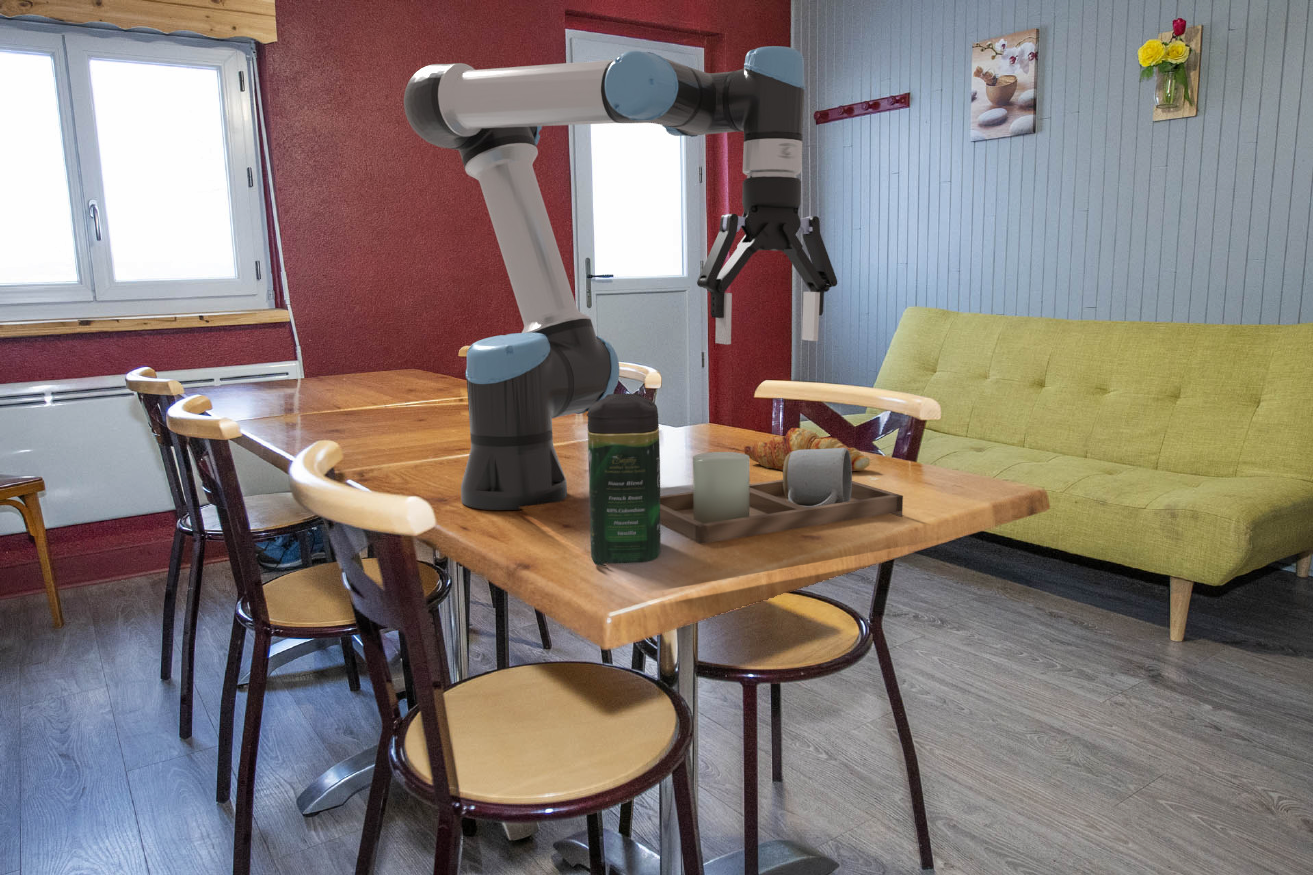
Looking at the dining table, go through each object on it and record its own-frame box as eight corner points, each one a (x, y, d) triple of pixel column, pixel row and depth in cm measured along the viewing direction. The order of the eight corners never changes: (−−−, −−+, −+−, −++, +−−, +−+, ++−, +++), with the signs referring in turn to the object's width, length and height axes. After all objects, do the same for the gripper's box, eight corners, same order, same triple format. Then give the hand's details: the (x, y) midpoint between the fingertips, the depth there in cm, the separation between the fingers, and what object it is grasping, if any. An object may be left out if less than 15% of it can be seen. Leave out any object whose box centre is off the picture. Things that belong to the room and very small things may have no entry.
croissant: (872, 490, 151) (879, 443, 153) (861, 472, 142) (868, 423, 144) (748, 478, 160) (756, 434, 162) (730, 461, 151) (739, 414, 153)
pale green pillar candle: (710, 529, 112) (710, 464, 111) (683, 517, 118) (682, 455, 117) (760, 522, 115) (760, 458, 114) (731, 510, 121) (731, 449, 120)
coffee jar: (662, 571, 100) (658, 399, 97) (588, 572, 100) (582, 401, 97) (661, 545, 110) (658, 388, 107) (594, 547, 110) (589, 390, 107)
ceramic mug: (792, 496, 128) (792, 441, 127) (852, 499, 125) (853, 443, 124) (775, 516, 118) (774, 457, 117) (840, 520, 116) (840, 459, 114)
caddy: (699, 552, 107) (699, 526, 106) (640, 521, 121) (639, 498, 120) (902, 518, 119) (902, 495, 119) (827, 494, 134) (827, 473, 133)
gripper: (700, 170, 112) (698, 347, 116) (868, 179, 122) (860, 341, 126) (672, 175, 118) (671, 342, 122) (833, 183, 129) (827, 337, 133)
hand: (767, 342), depth 124 cm, fingers open, 13 cm apart
